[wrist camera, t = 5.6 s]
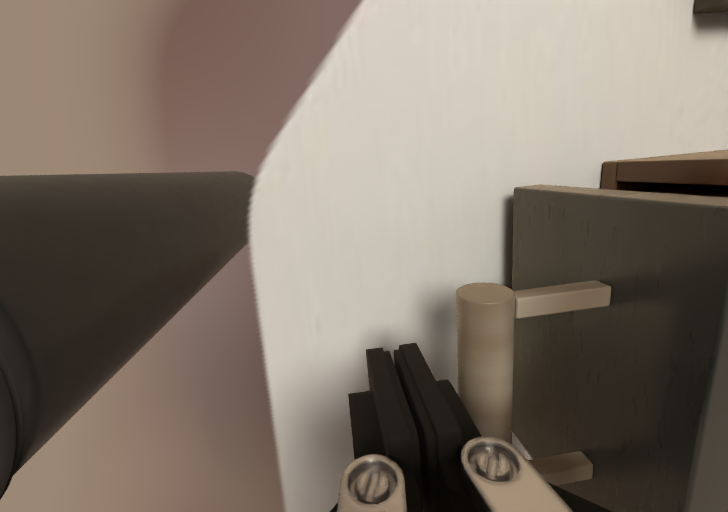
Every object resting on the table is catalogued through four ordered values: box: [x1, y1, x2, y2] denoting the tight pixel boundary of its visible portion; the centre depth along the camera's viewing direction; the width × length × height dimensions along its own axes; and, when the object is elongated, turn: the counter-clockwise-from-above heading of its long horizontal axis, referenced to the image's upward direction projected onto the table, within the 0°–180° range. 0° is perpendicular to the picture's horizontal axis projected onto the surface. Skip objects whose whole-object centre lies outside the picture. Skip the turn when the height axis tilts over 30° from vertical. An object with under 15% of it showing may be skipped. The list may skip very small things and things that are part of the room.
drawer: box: [456, 185, 728, 512], centre depth 12 cm, size 18×11×8 cm, turn 95°
